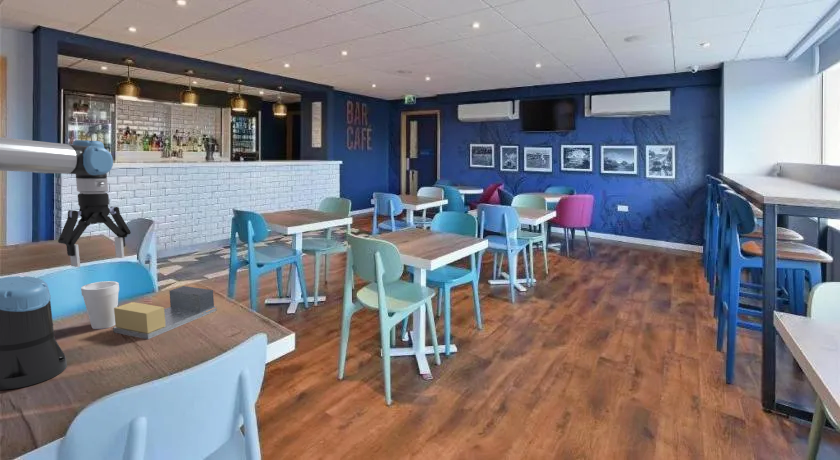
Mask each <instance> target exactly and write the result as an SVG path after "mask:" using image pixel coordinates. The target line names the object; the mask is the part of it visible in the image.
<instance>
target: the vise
mask: <svg viewBox="0 0 840 460" xmlns="http://www.w3.org/2000/svg"><path fill="white" fill-rule="evenodd" d="M168 291H169V302H170V307H167V308H164V312H165V325H166V326H165V327H162V328H160V329H157V330H155V331H152V332H150V333H144V332H139V331H134V330H129V329H124V328H118V327H116V326H112V331H113V333H116V334H121V335H124V336H130V337H133V338H134V337H135V338H139V339H145V340H150V339H152V338H154V337H157V336H159V335H162V334H164V333H167V332H168V331H172V330H173V329H176V328H178V327H180V326H182V325H185V324H188V323H191V322H192V321H195V320H198V319H200V318H203V317H204V316H206V315H209V314H212V313H214V312H216V311H217V306H216V305H215V301H214V300H215V299H214V290H213V289H209V288H208V289H207V288H201V287H193V286H188V285H187V286H186V285H183V286H180V287H176V288H173V289H170V290H168ZM215 307H216V308H215ZM212 308H215V309H212ZM210 309H212V310H210ZM208 310H210V311H208ZM206 311H208V312H206ZM202 313H203V314H202Z"/></svg>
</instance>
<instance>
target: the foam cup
mask: <svg viewBox="0 0 840 460" xmlns="http://www.w3.org/2000/svg"><path fill="white" fill-rule="evenodd" d="M119 284H120V283H119V282H117V281H115V280H114V281H113V280H110V281H108V280H107V281H106V280H105V281H104V280H103V281H96V282H92V283H87V284H85V285H82V286H81V287H80V289H81V296H82V297H83V301H84V305H85V308H86V312H87V315H88V319H89V323H90V325H91V328H92V329H93V330H102V329H109V328H111V327H112V328H113V327H115V326H116V324H115V314H114V308H116V307H119V306H118V305H119V292H120V285H119Z"/></svg>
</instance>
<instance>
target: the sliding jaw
mask: <svg viewBox="0 0 840 460" xmlns="http://www.w3.org/2000/svg"><path fill="white" fill-rule="evenodd" d="M164 309H165V307H163V306H160V305H158V306H157V305H151V304H147V303H146V304H145V303H141V302H134V301H131V302H128V303H125V304H122V305H119V306H118V307H116V308H114V314H115V324H116V325H115V327H118V328H124V329H129V330H134V331H139V332H144V333H150V332H152V331H155V330H157V329H160V328H162V327H165V326H166V325H165V312H164Z"/></svg>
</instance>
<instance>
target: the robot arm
mask: <svg viewBox="0 0 840 460" xmlns="http://www.w3.org/2000/svg"><path fill="white" fill-rule="evenodd" d="M112 155H113V154H111V153H110V151H108V150H107V148H105V145H104V143H103V142H102V141H100V140H83V139H75V140H73V141H72V144H68V143H60V142H48V141H41V140H40V141H38V140H30V139H20V138H12V137H3V136H0V171H1V172H22V173H23V172H25V173H26V172H27V173H35V174H44V175H48V174H61V175H63V174H67V175H68V174H69V175H75V182H76V183H75V185H76V192H78V194H77V202H78V203H77V205H78V206H79V210H72V209H71V210H70V209H69V210H68V211H67V219H66V221H65V224H64V225H63V228H62V231H61V233H60V236H59V237H58V240H57V243H59V244H63V245H66V246H65V247H66V255H67V256H68V257H70V267H75V268H76V267H77V268H79V267H81V260H80V259H81V258H80V248H79V244H78V243H77V242H78V240H79V239H80V238H81V236H82V235H83V233H84V232H85V231H86V229H87V227H89V226H90V225H95V224H104V225H105V226H106V227H107V228H108V229H109V230H110V231H111V232H112V233H113V234H114V235H115V236H114V250H115V257H116V258H118V259H124V258H125V247H126V238H127V237H128V236H129V235H130V234H131V229H130V228H129V227H128V225H127V223H126V221H125V220H124V218H123V217H122V215H121V211H120V207H119V206H110V207H109V205H110V198H109V194H108V193H107V192H108V190H109V184H108V177H107V176H108V174H107V173H109V172H111V170H112V169H113V166H114V158H113V156H112ZM109 215H111V217H112V218H111V217H110V216H109ZM78 218H80V219H79V221H78ZM76 224H77V225H76ZM76 243H77V244H76ZM51 296H52V295H51V292H50V289H49V286H48V283H47V282H46V281H45V280H43V279H42V278H37V277H35V276H19V275H18V276H7V277H0V391H2V390H5V391H6V390H14V389H20V388H24V387H29V386H34V385H36V384H39V383H42V382H46V381H47V380H50V379H53V378H54V377H56V376H58V375H60V374H61V373H62V372H64V371H65V370H66V368H68V363H67V362H68V361H67V356H66V355H65V353H64V351H63V350H62V348H61V346H60V344H59V343H58V341H57V340H56V338H55V331H54V321H53V314H52V303H51V299H52V298H51Z"/></svg>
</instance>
